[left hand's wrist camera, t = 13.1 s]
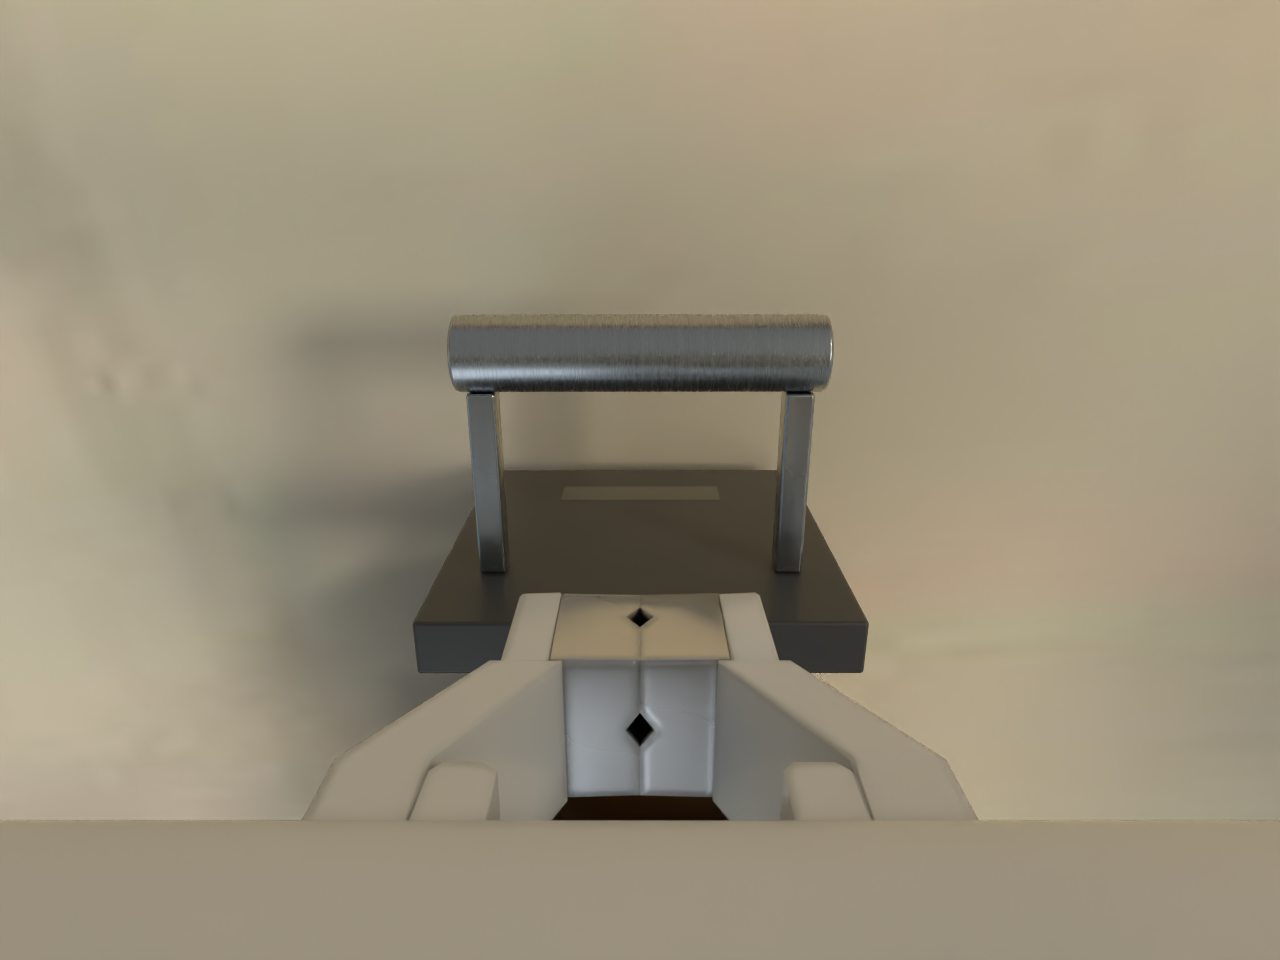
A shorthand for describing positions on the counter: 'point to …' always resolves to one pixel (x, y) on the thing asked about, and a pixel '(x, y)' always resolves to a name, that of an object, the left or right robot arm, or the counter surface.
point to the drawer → (640, 499)
